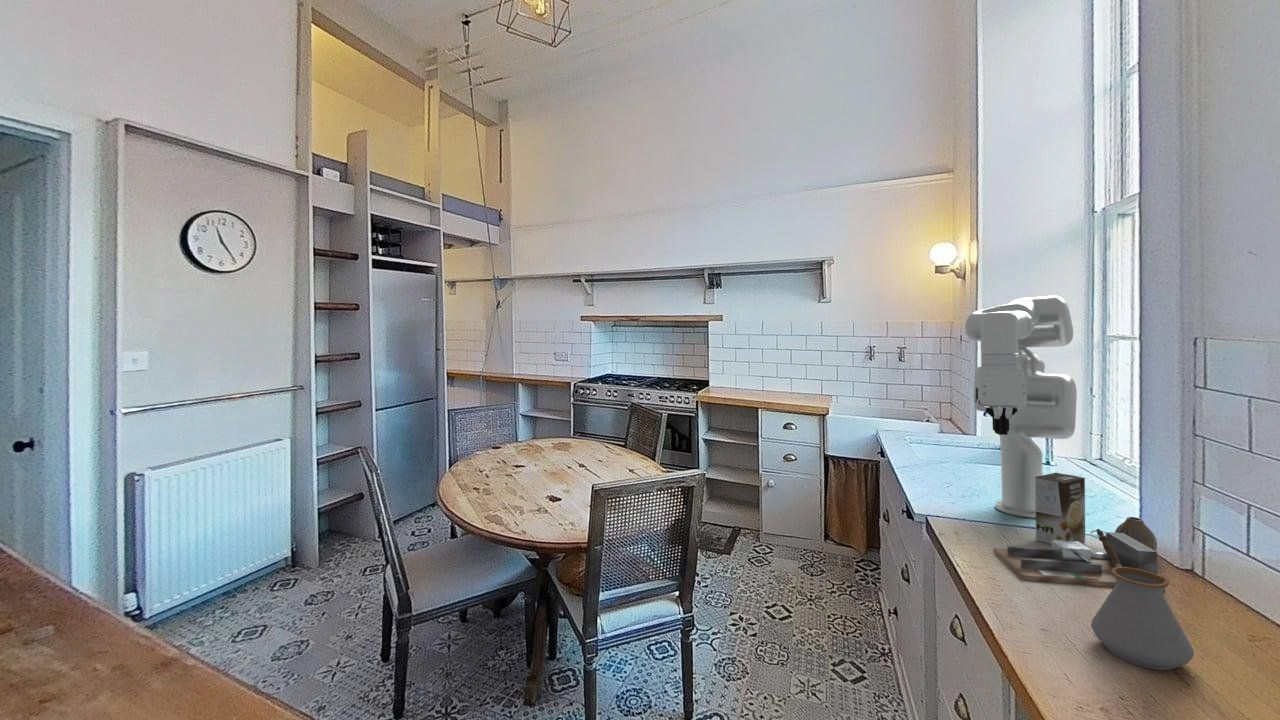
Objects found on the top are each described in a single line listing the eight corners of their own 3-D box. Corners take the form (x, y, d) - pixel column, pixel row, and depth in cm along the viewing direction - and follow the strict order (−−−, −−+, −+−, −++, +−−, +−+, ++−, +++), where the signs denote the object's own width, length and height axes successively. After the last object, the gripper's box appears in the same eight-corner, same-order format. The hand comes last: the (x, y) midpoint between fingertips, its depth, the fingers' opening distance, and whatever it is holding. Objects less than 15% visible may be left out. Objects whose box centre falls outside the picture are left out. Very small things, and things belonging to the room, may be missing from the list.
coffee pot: (1213, 687, 70) (1212, 585, 69) (1108, 667, 75) (1107, 572, 74) (1139, 611, 89) (1138, 531, 89) (1060, 599, 94) (1058, 524, 94)
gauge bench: (1022, 579, 102) (1021, 547, 102) (993, 551, 116) (993, 523, 115) (1165, 591, 95) (1164, 556, 95) (1117, 560, 109) (1116, 529, 109)
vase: (1166, 563, 106) (1166, 524, 106) (1129, 562, 108) (1129, 523, 107) (1140, 550, 113) (1140, 513, 113) (1106, 549, 114) (1105, 512, 114)
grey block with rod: (1074, 577, 100) (1074, 556, 100) (1051, 559, 108) (1051, 539, 108) (1139, 582, 97) (1139, 560, 97) (1110, 563, 105) (1110, 543, 105)
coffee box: (1065, 549, 115) (1064, 482, 115) (1034, 539, 121) (1033, 476, 121) (1086, 541, 119) (1085, 477, 119) (1055, 532, 125) (1054, 471, 124)
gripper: (1027, 359, 122) (1028, 431, 123) (959, 361, 126) (961, 431, 127) (1042, 360, 115) (1044, 437, 115) (970, 362, 119) (972, 436, 120)
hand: (1000, 433), depth 121 cm, fingers closed
